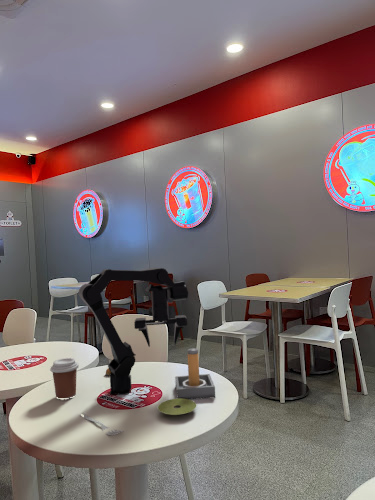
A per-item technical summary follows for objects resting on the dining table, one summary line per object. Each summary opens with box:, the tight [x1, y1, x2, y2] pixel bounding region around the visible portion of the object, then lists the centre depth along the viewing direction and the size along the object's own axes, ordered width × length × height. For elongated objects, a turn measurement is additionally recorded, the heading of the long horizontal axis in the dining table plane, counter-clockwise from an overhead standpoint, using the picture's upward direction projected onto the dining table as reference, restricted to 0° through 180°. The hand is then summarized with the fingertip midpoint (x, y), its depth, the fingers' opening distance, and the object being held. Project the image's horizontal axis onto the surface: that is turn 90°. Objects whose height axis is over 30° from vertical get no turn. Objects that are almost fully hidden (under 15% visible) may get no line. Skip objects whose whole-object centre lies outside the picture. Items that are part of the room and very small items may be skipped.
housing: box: [174, 373, 216, 400], centre depth 127 cm, size 12×12×4 cm
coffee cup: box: [49, 357, 80, 398], centre depth 128 cm, size 9×9×12 cm
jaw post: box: [186, 347, 200, 386], centre depth 127 cm, size 4×4×13 cm
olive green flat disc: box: [157, 398, 197, 416], centre depth 112 cm, size 11×11×2 cm
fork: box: [83, 414, 125, 436], centre depth 107 cm, size 3×24×2 cm, turn 44°
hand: (162, 345), depth 138 cm, fingers open, 9 cm apart
